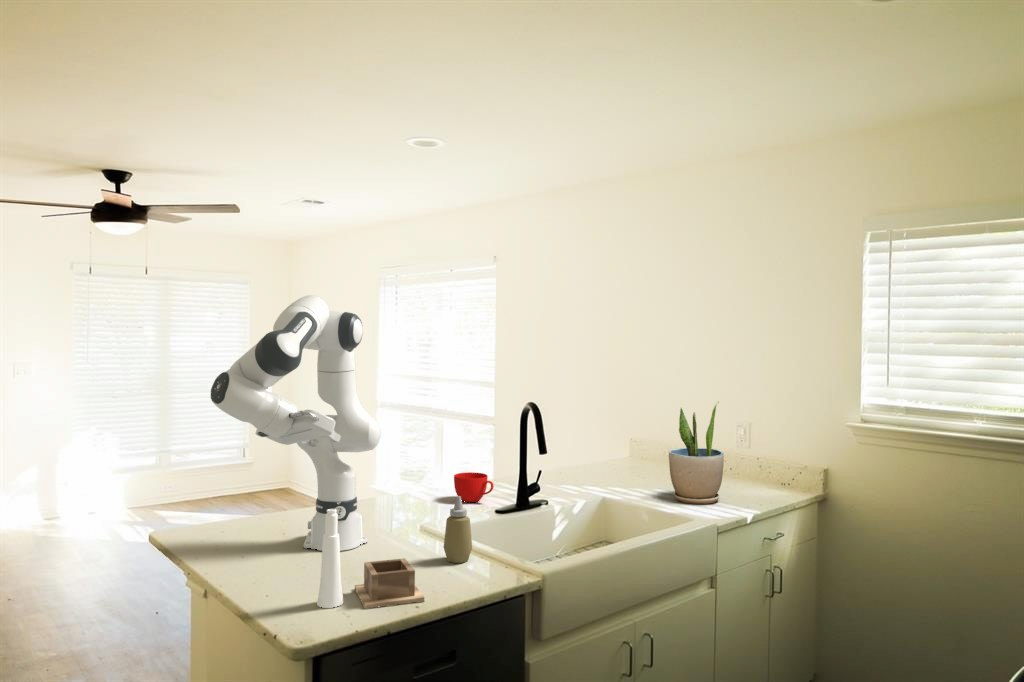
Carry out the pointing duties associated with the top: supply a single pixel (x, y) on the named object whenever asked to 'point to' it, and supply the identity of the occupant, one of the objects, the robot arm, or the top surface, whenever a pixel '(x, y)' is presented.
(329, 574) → the cosmetic bottle
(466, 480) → the ceramic cup
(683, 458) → the potted plant
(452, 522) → the squeeze bottle
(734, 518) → the top surface
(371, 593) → the holder
